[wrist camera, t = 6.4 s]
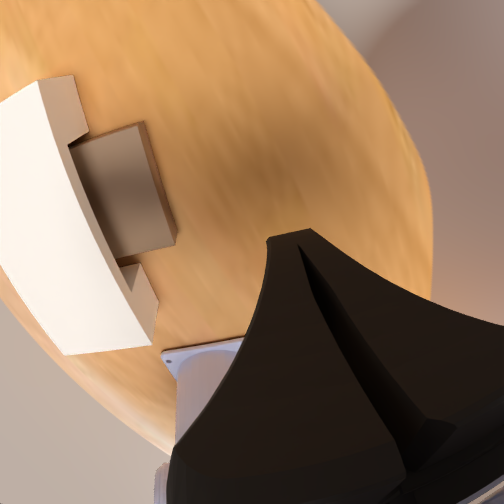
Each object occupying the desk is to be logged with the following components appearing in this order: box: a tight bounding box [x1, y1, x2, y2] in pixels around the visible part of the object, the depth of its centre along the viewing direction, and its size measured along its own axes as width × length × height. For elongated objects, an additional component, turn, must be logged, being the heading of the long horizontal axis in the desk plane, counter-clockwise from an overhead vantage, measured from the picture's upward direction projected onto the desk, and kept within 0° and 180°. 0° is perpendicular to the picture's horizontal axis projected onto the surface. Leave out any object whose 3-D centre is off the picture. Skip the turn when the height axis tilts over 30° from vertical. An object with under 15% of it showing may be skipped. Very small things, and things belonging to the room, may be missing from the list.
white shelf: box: [0, 75, 159, 355], centre depth 15 cm, size 16×7×4 cm, turn 11°
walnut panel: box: [69, 121, 178, 259], centre depth 16 cm, size 7×9×2 cm
